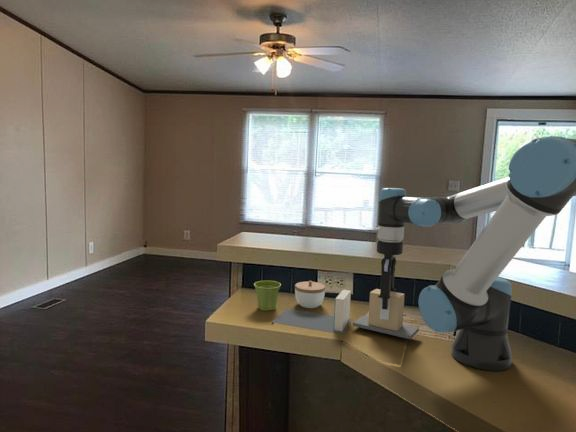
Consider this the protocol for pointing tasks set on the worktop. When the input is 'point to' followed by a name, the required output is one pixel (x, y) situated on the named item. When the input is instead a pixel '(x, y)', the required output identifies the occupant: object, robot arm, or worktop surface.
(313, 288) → the lidded jar
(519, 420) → the worktop surface
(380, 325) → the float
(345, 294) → the tile
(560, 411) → the worktop surface
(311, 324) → the mat
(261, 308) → the plant pot
